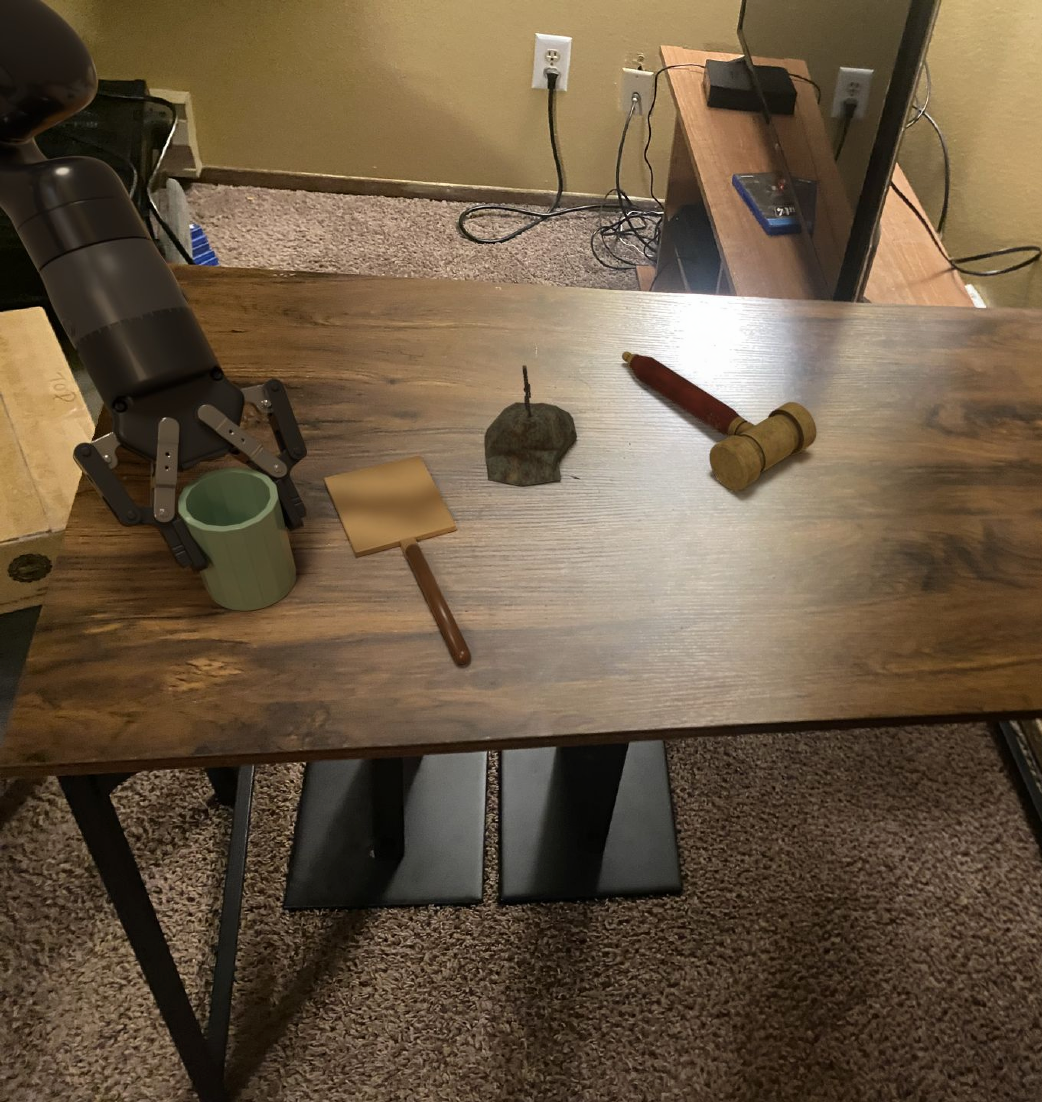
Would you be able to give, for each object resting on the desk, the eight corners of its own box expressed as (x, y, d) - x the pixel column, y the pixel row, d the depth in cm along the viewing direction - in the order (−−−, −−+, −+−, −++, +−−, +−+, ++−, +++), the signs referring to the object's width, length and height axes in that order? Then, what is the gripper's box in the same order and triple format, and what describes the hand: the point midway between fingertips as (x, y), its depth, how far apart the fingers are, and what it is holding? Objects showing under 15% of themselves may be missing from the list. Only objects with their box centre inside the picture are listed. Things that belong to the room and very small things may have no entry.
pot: (193, 606, 72) (163, 525, 65) (223, 544, 76) (197, 462, 70) (282, 615, 72) (261, 535, 66) (307, 552, 77) (288, 472, 70)
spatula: (324, 482, 82) (322, 472, 81) (420, 459, 85) (419, 449, 84) (410, 685, 70) (409, 675, 69) (518, 649, 74) (518, 639, 73)
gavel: (585, 352, 94) (660, 317, 100) (585, 391, 97) (658, 356, 103) (749, 460, 85) (821, 415, 91) (742, 500, 88) (813, 454, 94)
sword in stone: (497, 405, 92) (495, 294, 83) (582, 420, 92) (589, 310, 84) (469, 478, 85) (464, 365, 76) (561, 493, 85) (566, 382, 77)
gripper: (229, 306, 73) (332, 512, 77) (11, 369, 65) (137, 595, 69) (249, 279, 67) (359, 504, 71) (11, 344, 59) (149, 594, 63)
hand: (249, 548), depth 70 cm, fingers closed on pot, 6 cm apart
